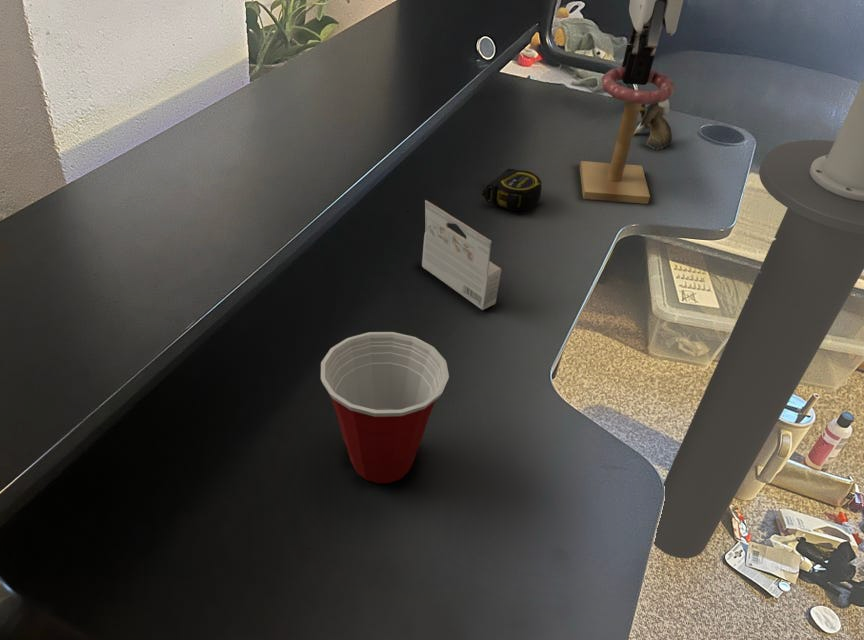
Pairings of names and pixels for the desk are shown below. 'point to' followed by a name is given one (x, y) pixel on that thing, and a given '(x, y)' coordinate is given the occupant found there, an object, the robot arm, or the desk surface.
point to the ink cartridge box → (459, 258)
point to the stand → (617, 169)
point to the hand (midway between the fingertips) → (633, 78)
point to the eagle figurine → (656, 124)
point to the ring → (638, 95)
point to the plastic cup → (383, 398)
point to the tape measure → (514, 190)
